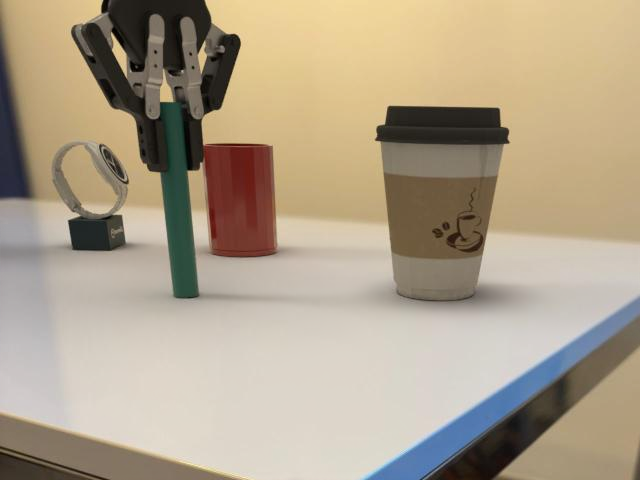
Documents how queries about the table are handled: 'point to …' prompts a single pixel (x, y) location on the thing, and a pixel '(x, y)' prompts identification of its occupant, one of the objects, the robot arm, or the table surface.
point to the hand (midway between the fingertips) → (173, 169)
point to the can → (240, 199)
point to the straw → (178, 204)
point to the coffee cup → (439, 195)
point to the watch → (91, 227)
